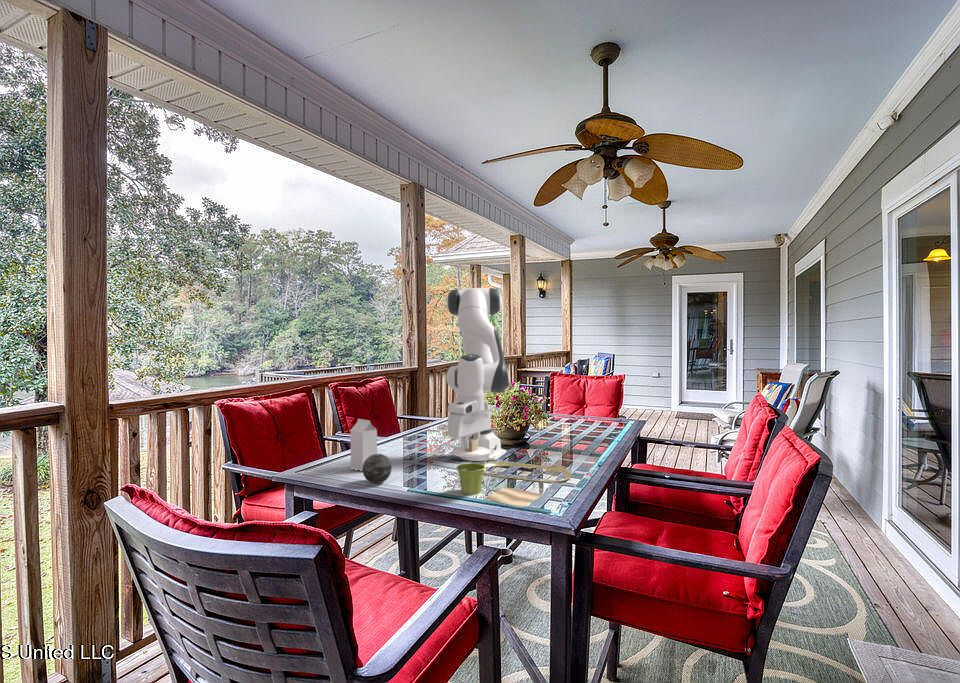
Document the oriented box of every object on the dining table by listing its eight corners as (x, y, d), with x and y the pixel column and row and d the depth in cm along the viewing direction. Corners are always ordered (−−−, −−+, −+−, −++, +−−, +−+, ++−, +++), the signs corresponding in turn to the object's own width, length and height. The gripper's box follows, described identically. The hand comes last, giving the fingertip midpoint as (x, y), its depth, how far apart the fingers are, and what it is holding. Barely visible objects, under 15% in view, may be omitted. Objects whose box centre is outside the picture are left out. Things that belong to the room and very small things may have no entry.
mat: (505, 488, 162) (505, 486, 162) (543, 496, 155) (543, 494, 155) (482, 500, 151) (482, 498, 151) (522, 509, 143) (522, 507, 143)
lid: (466, 447, 166) (465, 434, 166) (496, 451, 159) (496, 438, 159) (445, 454, 156) (444, 440, 156) (476, 459, 149) (476, 445, 149)
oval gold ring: (564, 487, 165) (564, 483, 165) (470, 476, 178) (470, 472, 178) (576, 473, 182) (576, 469, 182) (489, 464, 196) (489, 460, 195)
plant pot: (460, 499, 152) (460, 471, 152) (453, 490, 161) (453, 464, 161) (488, 496, 155) (488, 469, 154) (481, 487, 164) (481, 462, 164)
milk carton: (362, 472, 182) (362, 421, 182) (350, 469, 186) (350, 420, 186) (377, 468, 188) (377, 419, 188) (365, 465, 192) (365, 417, 192)
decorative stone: (382, 476, 177) (381, 449, 176) (397, 482, 169) (397, 454, 169) (357, 482, 170) (357, 454, 170) (372, 489, 162) (372, 459, 162)
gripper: (479, 400, 168) (480, 440, 168) (444, 407, 151) (444, 452, 151) (495, 401, 164) (495, 442, 165) (460, 409, 147) (461, 454, 147)
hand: (470, 447), depth 158 cm, fingers closed on lid, 3 cm apart
